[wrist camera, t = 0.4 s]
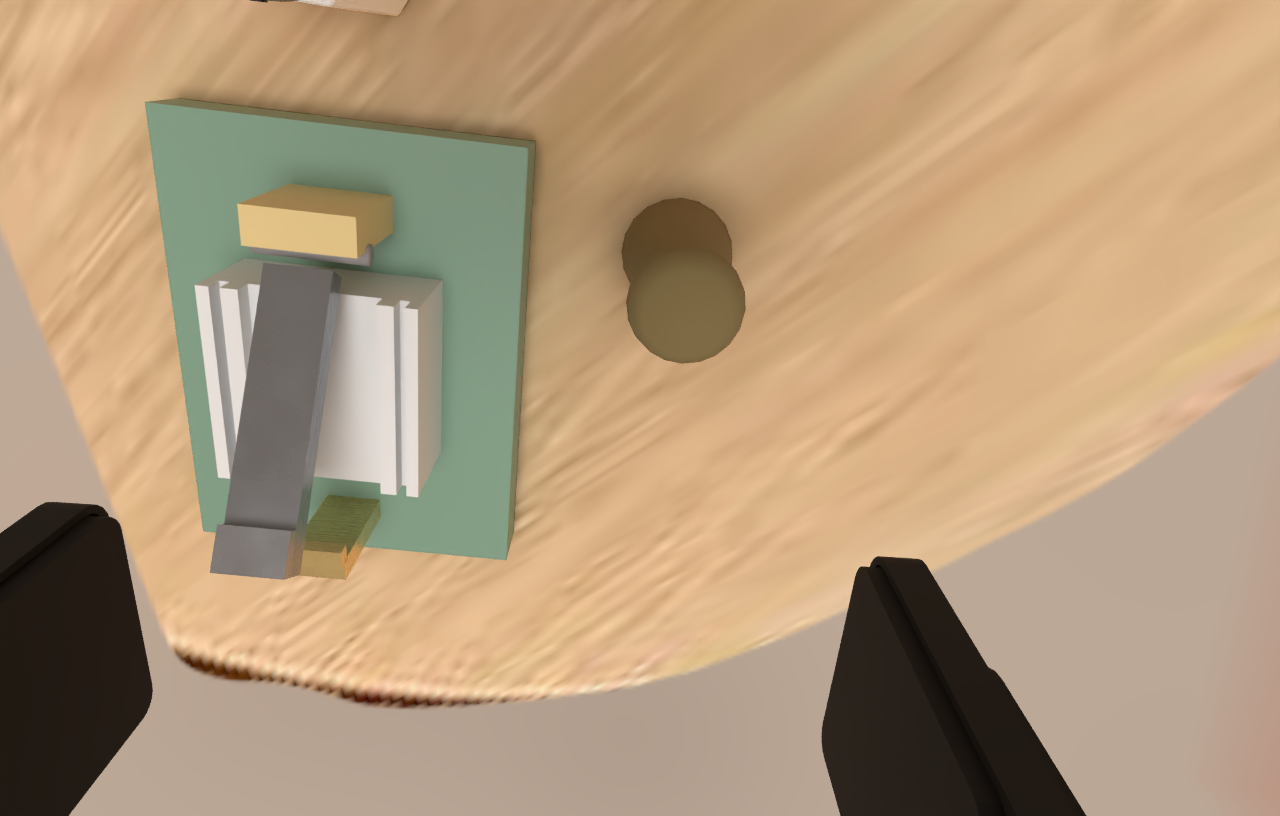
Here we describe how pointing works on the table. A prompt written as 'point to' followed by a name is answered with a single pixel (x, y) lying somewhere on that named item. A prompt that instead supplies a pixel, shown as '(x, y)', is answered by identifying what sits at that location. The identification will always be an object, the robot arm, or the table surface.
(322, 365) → the strap
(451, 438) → the board
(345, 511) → the lug
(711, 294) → the cork
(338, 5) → the jar
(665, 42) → the table surface
